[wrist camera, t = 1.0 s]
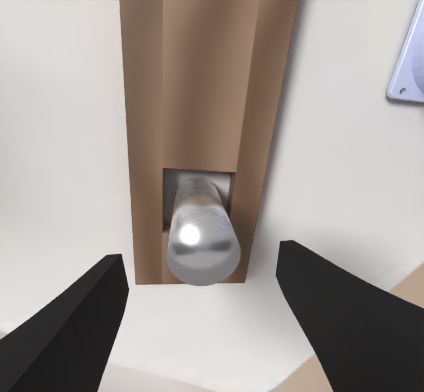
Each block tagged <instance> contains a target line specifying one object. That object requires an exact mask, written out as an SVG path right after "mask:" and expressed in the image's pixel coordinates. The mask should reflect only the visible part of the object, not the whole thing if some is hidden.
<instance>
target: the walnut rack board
mask: <svg viewBox="0 0 424 392" xmlns="http://www.w3.org/2000/svg"><path fill="white" fill-rule="evenodd" d="M119 1H120V19H121V36H122V54H123V72H124V89H125V107H126V125H127V142H128V160H129V177H130V195H131V213H132V230H133V248H134V265H135V283H136V285H148V284H187V283H184V282H182V281H180V280H179V279H178V278H176V277H175V276H174V275H173V274H172V272H171V271H170V269H169V267H168V264H167V258H166V257H167V249H168V242H169V235H170V228H171V224H164V189H165V168H173V169H189V170H206V171H222V172H231V179H230V187H229V195H228V203H227V211H226V213H227V215H228V218H229V220H230V223H231V225H232V228H233V230H234V232H235V235H236V237H237V240H238V242H239V245H240V249H241V257H240V261H239V264H238V266H237V267H236V269H235V270H234V272H233V273H232V274H231V275H230V276H228V277H227V278H226V279H224V280H222V281H220V282H218V283H245V279H246V274H247V268H248V263H249V258H250V252H251V247H252V242H253V236H254V231H255V226H256V220H257V215H258V210H259V204H260V199H261V194H262V188H263V183H264V178H265V172H266V167H267V162H268V157H269V151H270V146H271V141H272V135H273V130H274V125H275V119H276V114H277V109H278V103H279V98H280V93H281V87H282V82H283V77H284V71H285V66H286V61H287V55H288V50H289V45H290V40H291V34H292V29H293V24H294V18H295V13H296V8H297V2H298V0H119Z"/></svg>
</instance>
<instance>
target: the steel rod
mask: <svg viewBox="0 0 424 392" xmlns="http://www.w3.org/2000/svg"><path fill="white" fill-rule="evenodd" d="M240 257H241V249H240V245H239V242H238V240H237V237H236V235H235V232H234V230H233V228H232V225H231V223H230V220H229V218H228V215H227V213H226V211H225V208H224V206H223V203H222V201H221V198H220V196H219V194H218V191H217V189H216V187H215V185H214V184H213V183H212V182H211V181H210V180H208V179H207V178H204V177H199V176H195V177H190V178H187V179H186V180H184V181H183V182H182V183H181V184H180V185H179V186H178V188H177V190H176V195H175V202H174V208H173V215H172V222H171V228H170V235H169V242H168V249H167V257H166V258H167V264H168V267H169V269H170V271H171V272H172V274H173V275H174V276H175V277H176V278H178V279H179V280H180V281H182V282H184V283H187V284H190V285H195V286H207V285H212V284H215V283H218V282H220V281H222V280H224V279H226V278H227V277H228V276H230V275H231V274H232V273H233V272H234V270H235V269H236V267H237V266H238V264H239V261H240Z"/></svg>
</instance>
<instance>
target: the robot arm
mask: <svg viewBox="0 0 424 392" xmlns="http://www.w3.org/2000/svg"><path fill="white" fill-rule="evenodd" d="M400 90H401V93H400ZM387 97H388V98H390V99H398V100H406V101H414V102H422V103H424V0H419V3H418V5H417V8H416V11H415V14H414V17H413V20H412V22H411V25H410V28H409V31H408V34H407V36H406V39H405V42H404V45H403V48H402V51H401V53H400V56H399V59H398V62H397V65H396V67H395V70H394V73H393V76H392V79H391V82H390V84H389V87H388V90H387ZM276 277H277V280H278V283H279V285H280V288H281V290H282V292H283V295H284V297H285V299H286V301H287V303H288V304H289V306H290V308H291V310H292V312H293V313H294V315H295V317H296V319H297V321H298V322H299V324H300V326H301V328H302V329H303V331H304V333H305V335H306V337H307V338H308V340H309V342H310V344H311V346H312V347H313V349H314V351H315V353H316V355H317V357H318V359H319V361H320V363H321V365H322V368H323V370H324V372H325V374H326V376H327V378H328V380H329V383H330V385H331V387H332V389H333V392H424V309H423V308H421V307H419V306H417V305H414V304H412V303H409V302H407V301H405V300H403V299H401V298H399V297H397V296H394V295H392V294H390V293H388V292H386V291H384V290H382V289H380V288H378V287H376V286H373V285H371V284H370V283H368V282H366V281H364V280H362V279H360V278H358V277H356V276H354V275H353V274H351V273H349V272H347V271H345V270H343V269H342V268H340V267H338V266H336V265H335V264H333V263H331V262H330V261H328V260H326V259H324V258H323V257H321V256H319V255H318V254H316V253H314V252H313V251H311V250H309V249H308V248H306V247H304V246H303V245H301V244H299V243H297V242H295V241H293V240H288V241H280V247H279V254H278V262H277V270H276ZM128 293H129V287H128V282H127V278H126V273H125V268H124V263H123V259H122V254H113V255H106V256H105V257H104V258H102V259H101V260H100V261H99V262H98V263H96V264H95V265H94V266H93V267H92V268H91V269H90V270H88V271H87V272H86V273H85V274H84V275H83V276H81V277H80V278H79V279H78V280H77V281H76V282H74V283H73V284H72V285H71V286H70V287H69V288H67V289H66V290H65V291H64V292H63V293H61V294H60V295H59V296H58V297H56V298H55V299H54V300H52V301H51V302H50V303H49V304H47V305H46V306H45V307H44V308H42V309H41V310H40V311H39V312H37V313H36V314H35V315H34V316H32V317H31V318H30V319H28V320H27V321H26V322H24V323H23V324H22V325H20V326H19V327H17V328H16V329H15V330H13V331H12V332H10V333H9V334H8V335H6V336H5V337H3V338H2V339H0V392H97V391H98V388H99V385H100V382H101V378H102V375H103V373H104V370H105V367H106V364H107V361H108V358H109V355H110V353H111V350H112V347H113V344H114V341H115V338H116V335H117V332H118V330H119V327H120V324H121V321H122V318H123V315H124V311H125V307H126V302H127V298H128Z"/></svg>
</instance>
